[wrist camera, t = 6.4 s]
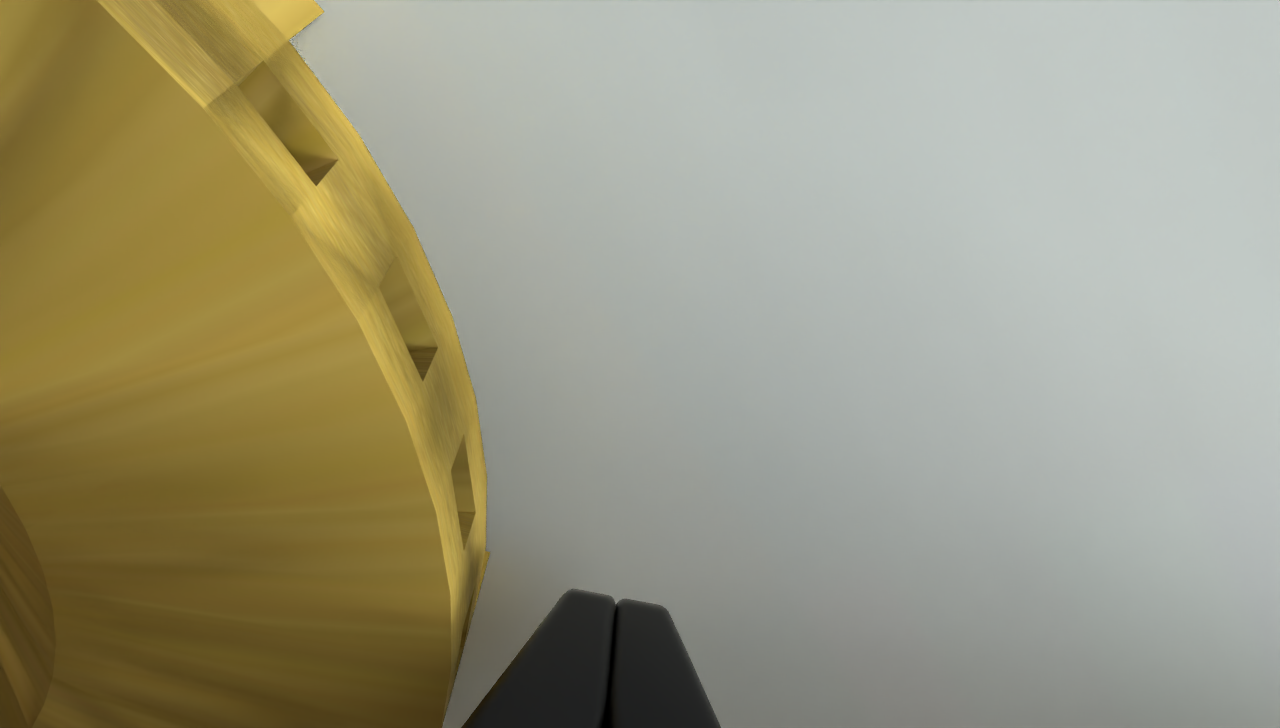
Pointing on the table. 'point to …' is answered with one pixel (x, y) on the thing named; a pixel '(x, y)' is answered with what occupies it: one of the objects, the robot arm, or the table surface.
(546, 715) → the robot arm
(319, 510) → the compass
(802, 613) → the table surface
